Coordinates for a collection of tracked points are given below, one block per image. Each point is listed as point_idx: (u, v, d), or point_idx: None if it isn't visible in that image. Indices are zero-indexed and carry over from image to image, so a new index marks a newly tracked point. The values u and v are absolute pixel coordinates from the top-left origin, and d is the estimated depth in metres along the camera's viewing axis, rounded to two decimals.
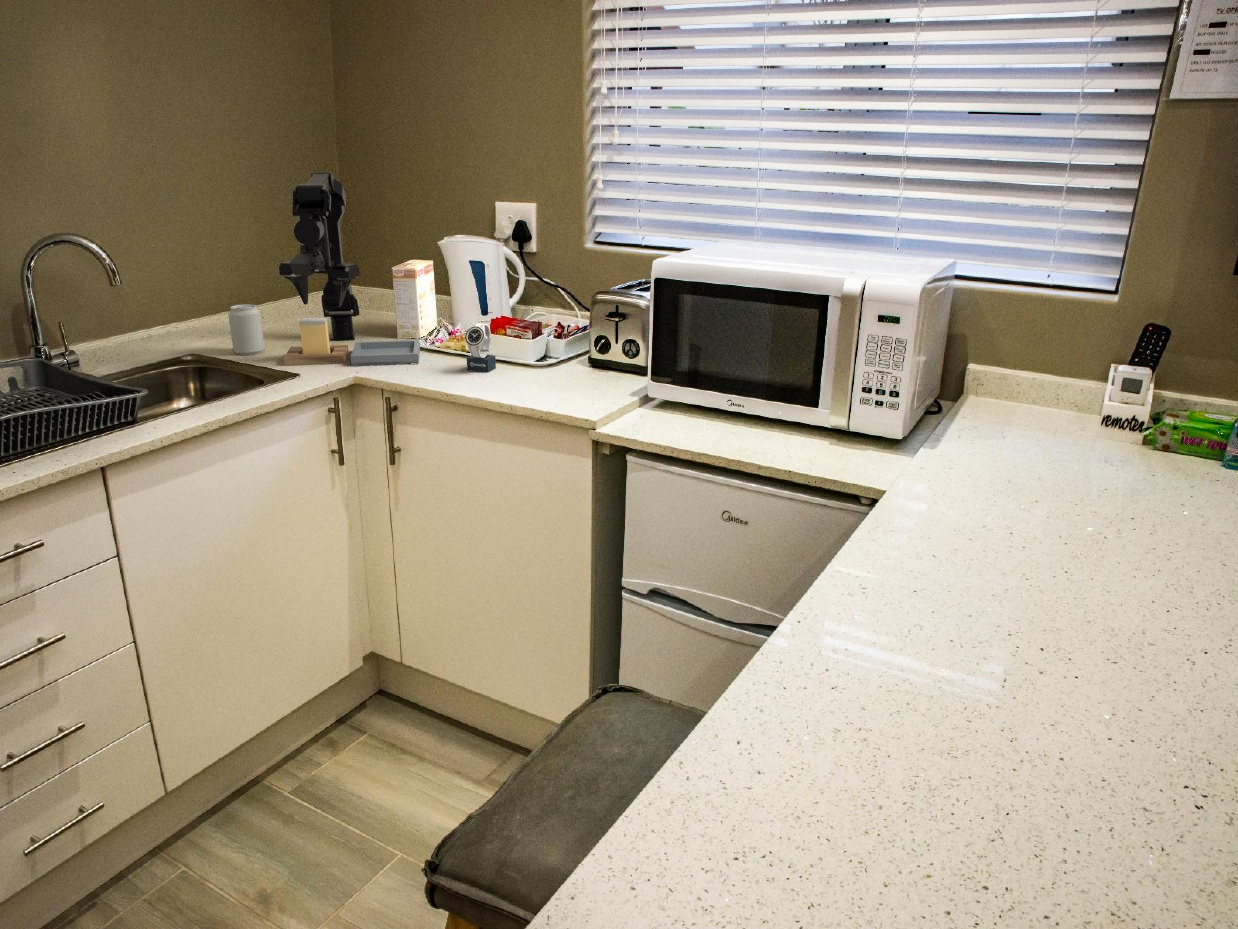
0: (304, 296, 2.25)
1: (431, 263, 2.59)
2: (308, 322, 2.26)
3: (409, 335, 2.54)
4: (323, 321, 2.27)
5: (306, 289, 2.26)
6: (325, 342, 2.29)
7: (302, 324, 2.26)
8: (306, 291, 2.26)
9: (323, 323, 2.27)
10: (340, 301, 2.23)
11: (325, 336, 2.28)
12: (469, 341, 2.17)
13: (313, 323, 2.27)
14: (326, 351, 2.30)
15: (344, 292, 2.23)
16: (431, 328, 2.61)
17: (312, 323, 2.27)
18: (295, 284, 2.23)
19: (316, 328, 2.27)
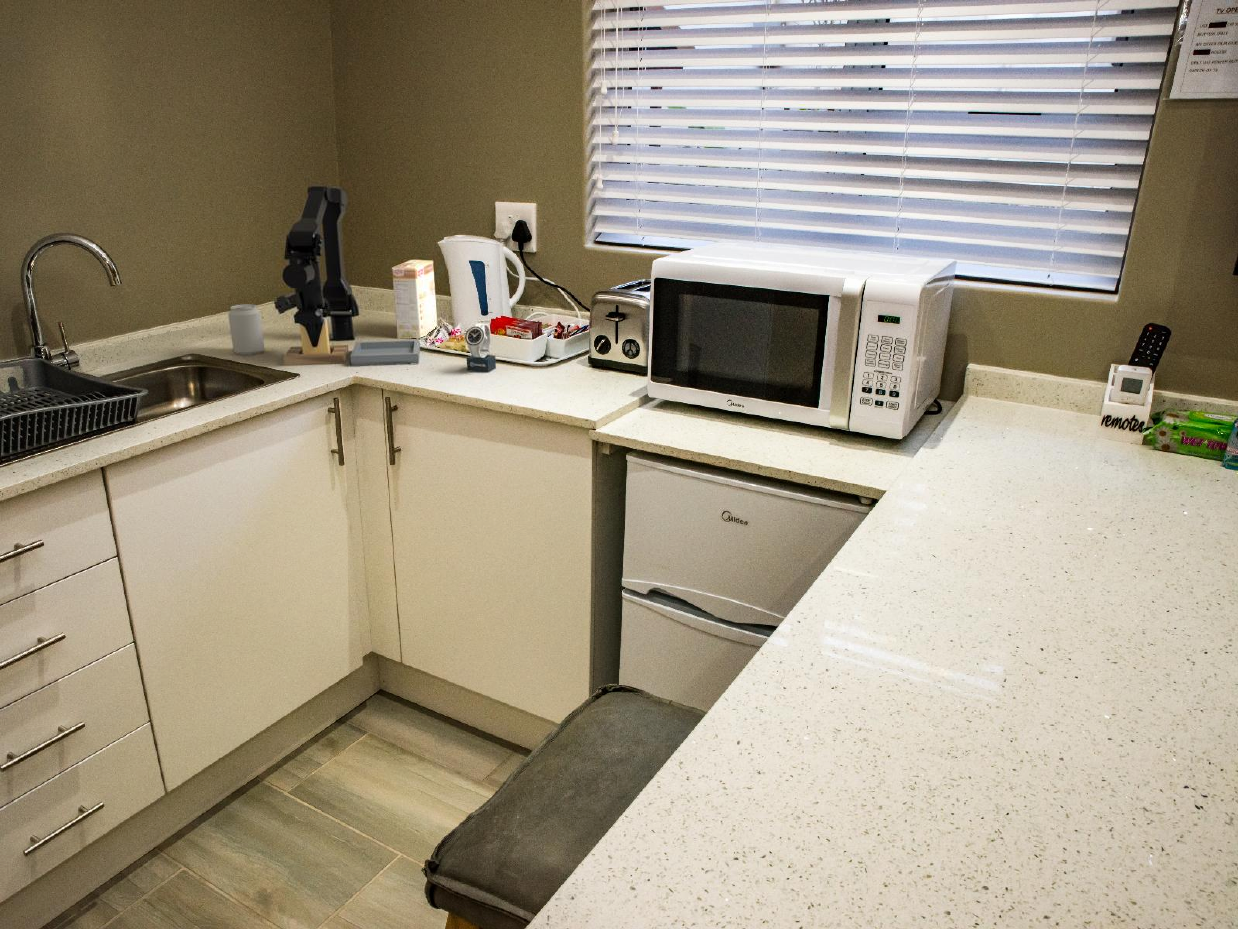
0: None
1: (432, 263, 2.59)
2: None
3: (409, 335, 2.54)
4: None
5: None
6: (325, 342, 2.29)
7: None
8: None
9: (323, 323, 2.27)
10: (312, 342, 2.28)
11: (325, 336, 2.28)
12: (469, 341, 2.17)
13: None
14: (326, 351, 2.30)
15: (316, 334, 2.27)
16: (431, 328, 2.61)
17: None
18: None
19: None
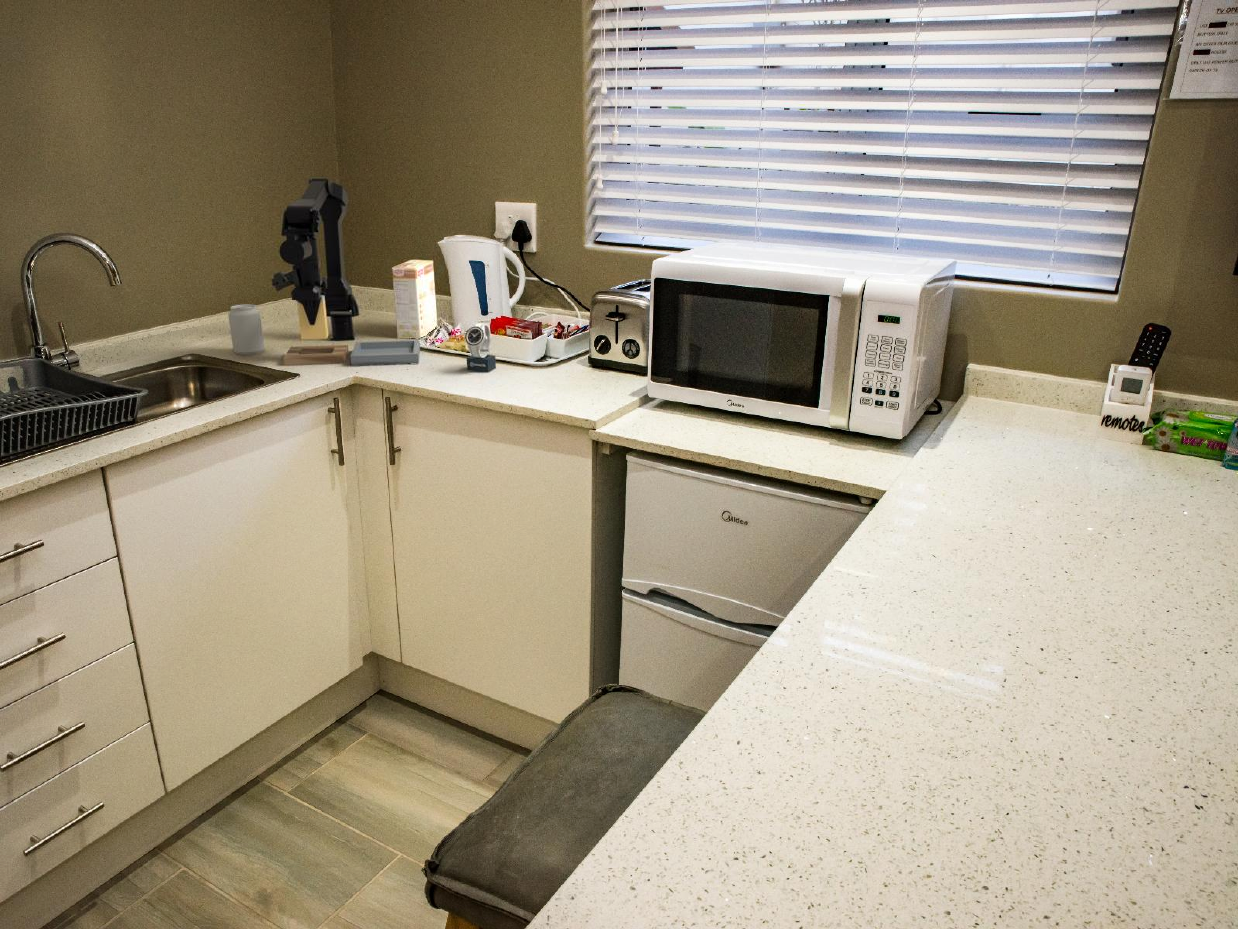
0: None
1: (432, 263, 2.59)
2: None
3: (409, 335, 2.54)
4: (321, 299, 2.25)
5: None
6: (323, 320, 2.27)
7: None
8: None
9: (321, 301, 2.25)
10: (310, 320, 2.26)
11: (323, 314, 2.26)
12: (469, 341, 2.17)
13: None
14: (324, 329, 2.28)
15: (313, 312, 2.25)
16: (431, 328, 2.61)
17: None
18: None
19: None
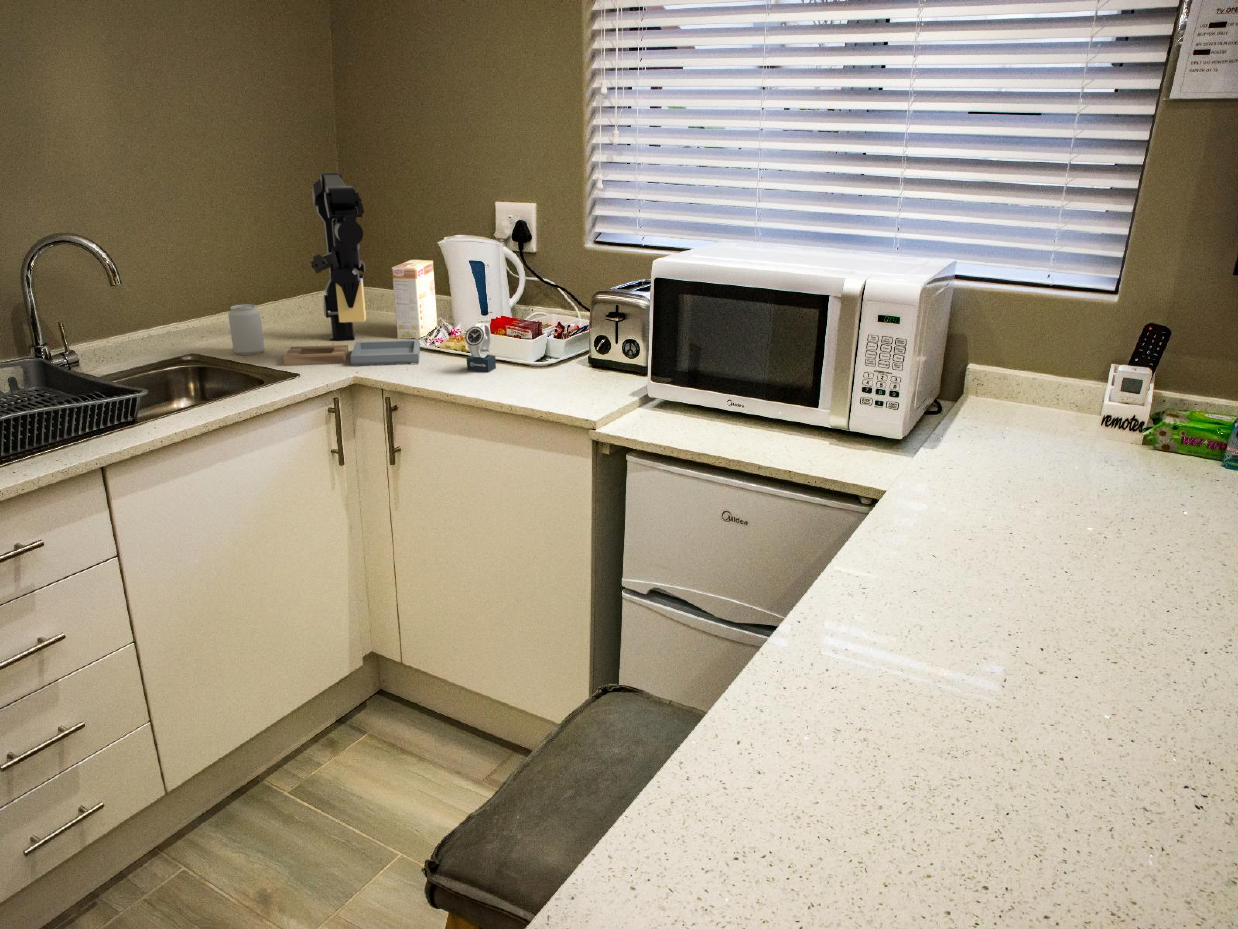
0: None
1: (431, 263, 2.59)
2: None
3: (409, 335, 2.54)
4: None
5: None
6: (361, 303, 2.26)
7: None
8: None
9: None
10: (348, 302, 2.25)
11: (361, 297, 2.26)
12: (469, 341, 2.17)
13: None
14: (362, 312, 2.27)
15: (352, 294, 2.24)
16: (431, 328, 2.61)
17: None
18: None
19: None
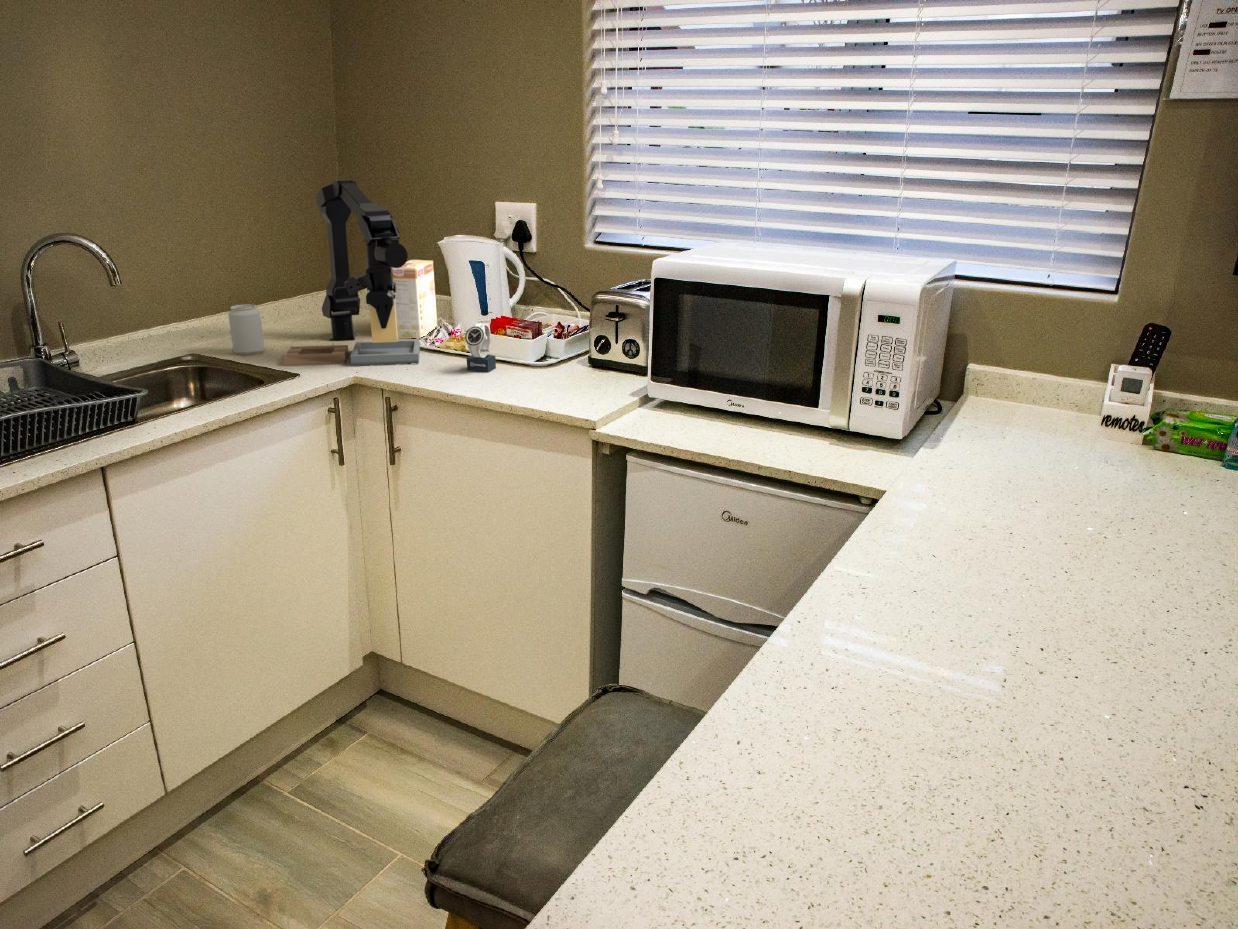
0: None
1: (432, 263, 2.59)
2: None
3: (409, 335, 2.54)
4: None
5: None
6: (394, 323, 2.29)
7: None
8: None
9: None
10: (381, 323, 2.28)
11: (394, 317, 2.29)
12: (469, 341, 2.17)
13: None
14: (395, 332, 2.30)
15: (386, 316, 2.27)
16: (431, 328, 2.61)
17: None
18: None
19: None
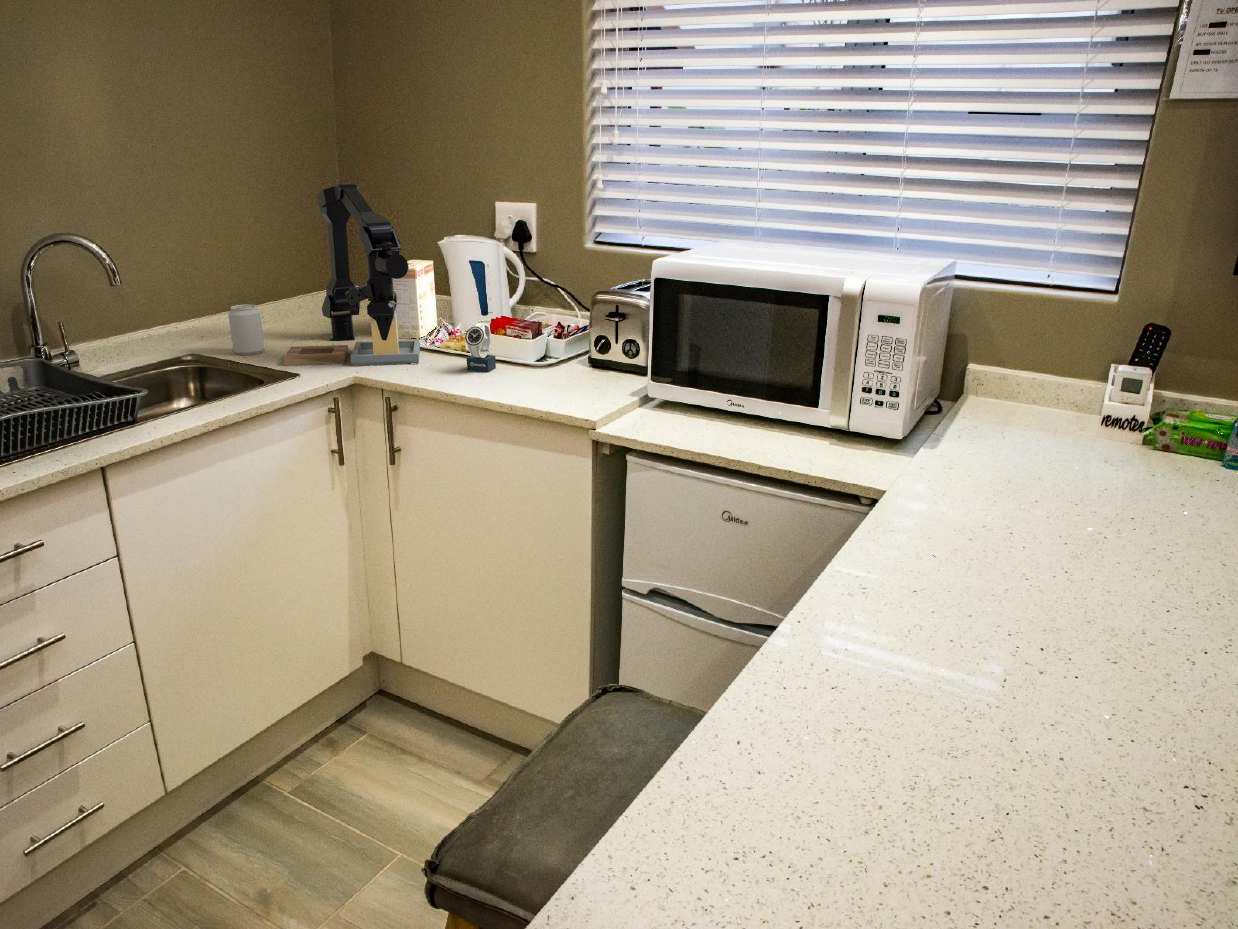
0: None
1: (431, 263, 2.59)
2: None
3: (409, 335, 2.54)
4: None
5: None
6: (395, 337, 2.31)
7: (373, 319, 2.28)
8: None
9: (393, 318, 2.29)
10: (382, 335, 2.27)
11: (395, 331, 2.30)
12: (469, 341, 2.17)
13: None
14: (396, 346, 2.31)
15: (386, 327, 2.26)
16: (431, 328, 2.61)
17: None
18: None
19: None
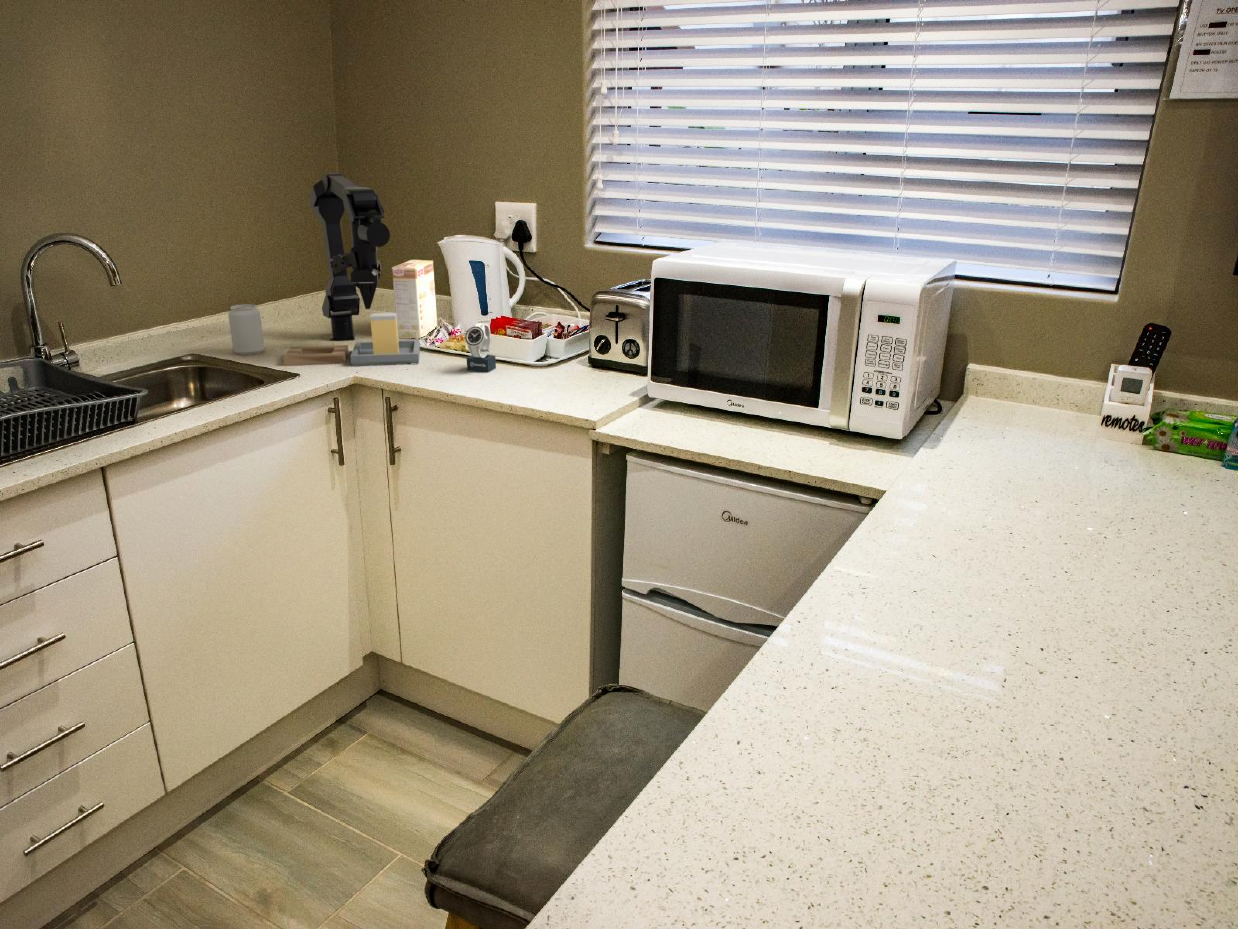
0: None
1: (432, 263, 2.59)
2: (379, 317, 2.28)
3: (409, 335, 2.54)
4: (393, 316, 2.29)
5: None
6: (395, 337, 2.31)
7: (373, 319, 2.28)
8: None
9: (393, 318, 2.29)
10: (365, 304, 2.27)
11: (395, 331, 2.30)
12: (469, 341, 2.17)
13: (384, 318, 2.28)
14: (396, 346, 2.31)
15: (370, 296, 2.26)
16: (431, 328, 2.61)
17: (382, 319, 2.28)
18: None
19: (387, 323, 2.29)
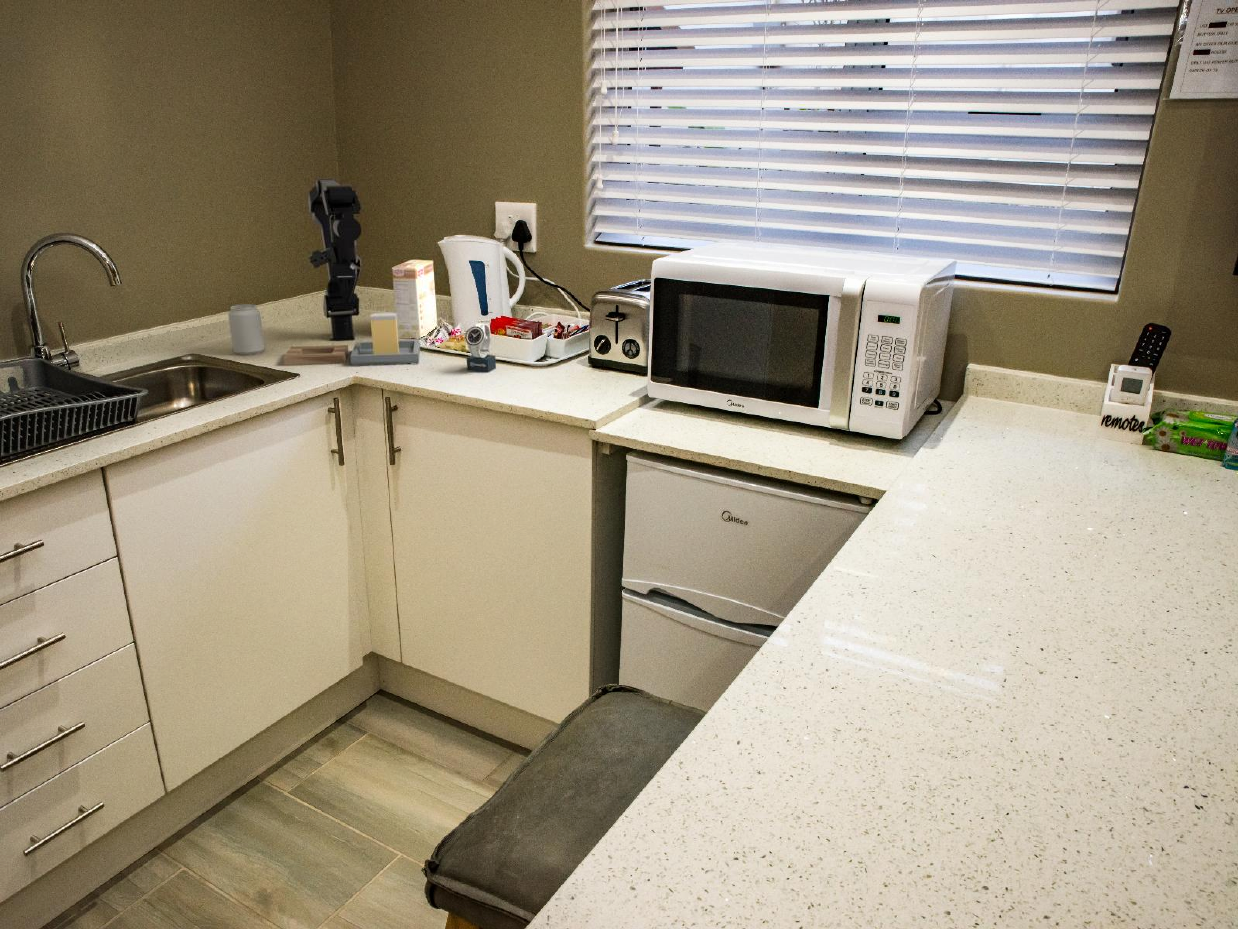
0: None
1: (431, 263, 2.59)
2: (379, 317, 2.28)
3: (409, 335, 2.54)
4: (393, 316, 2.29)
5: None
6: (395, 337, 2.31)
7: (373, 319, 2.28)
8: None
9: (393, 318, 2.29)
10: (345, 298, 2.32)
11: (395, 331, 2.30)
12: (469, 341, 2.17)
13: (384, 318, 2.28)
14: (396, 346, 2.31)
15: (349, 290, 2.31)
16: (431, 328, 2.61)
17: (382, 319, 2.28)
18: None
19: (387, 323, 2.29)
